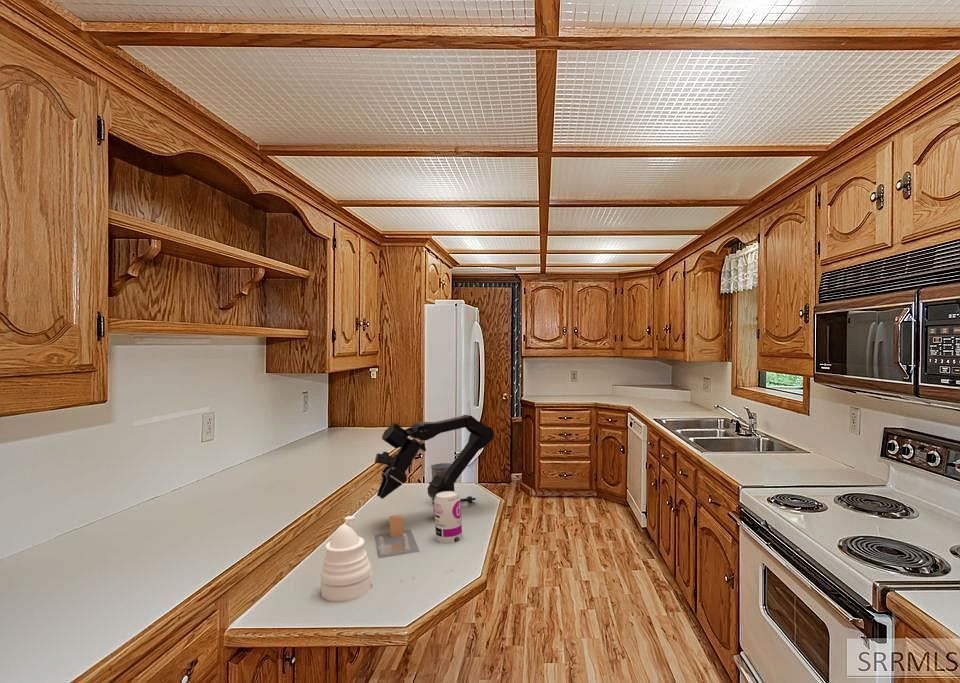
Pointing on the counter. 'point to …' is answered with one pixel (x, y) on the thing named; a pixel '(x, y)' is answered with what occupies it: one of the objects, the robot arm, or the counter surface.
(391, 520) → the orange rectangular block
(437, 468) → the milk frother
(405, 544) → the end holder
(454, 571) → the counter surface
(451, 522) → the supplement can
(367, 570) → the honey pot
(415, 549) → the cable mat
